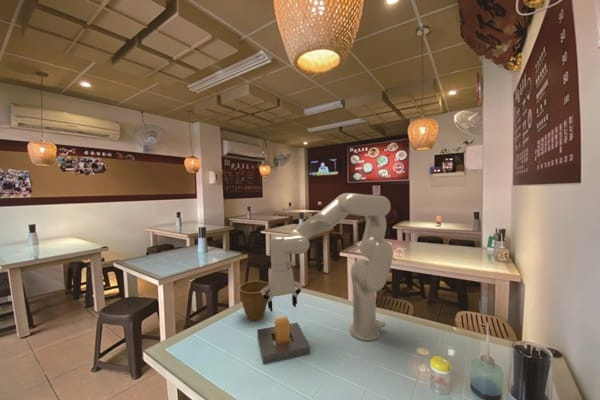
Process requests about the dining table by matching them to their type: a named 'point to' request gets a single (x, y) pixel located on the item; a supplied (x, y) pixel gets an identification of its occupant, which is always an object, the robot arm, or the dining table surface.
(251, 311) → the plant pot
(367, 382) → the dining table surface
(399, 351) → the dining table surface
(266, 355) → the grey square frame
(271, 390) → the dining table surface
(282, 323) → the orange rectangular block
